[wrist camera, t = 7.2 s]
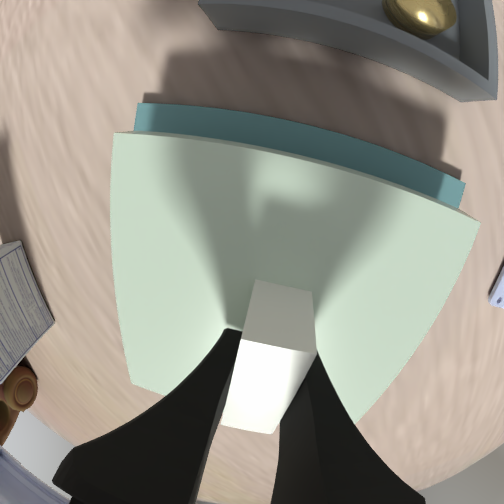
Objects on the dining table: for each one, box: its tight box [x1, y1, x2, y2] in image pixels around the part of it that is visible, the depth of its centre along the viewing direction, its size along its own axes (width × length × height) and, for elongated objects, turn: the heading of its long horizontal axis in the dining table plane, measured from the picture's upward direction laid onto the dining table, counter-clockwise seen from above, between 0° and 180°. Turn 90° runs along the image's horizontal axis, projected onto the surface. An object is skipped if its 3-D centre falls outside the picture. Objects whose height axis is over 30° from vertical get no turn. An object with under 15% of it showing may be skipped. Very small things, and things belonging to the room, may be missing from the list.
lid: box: [110, 131, 481, 434], centre depth 10 cm, size 13×13×5 cm
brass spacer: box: [382, 0, 457, 40], centre depth 6 cm, size 3×3×2 cm
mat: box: [134, 103, 466, 208], centre depth 14 cm, size 16×16×1 cm
